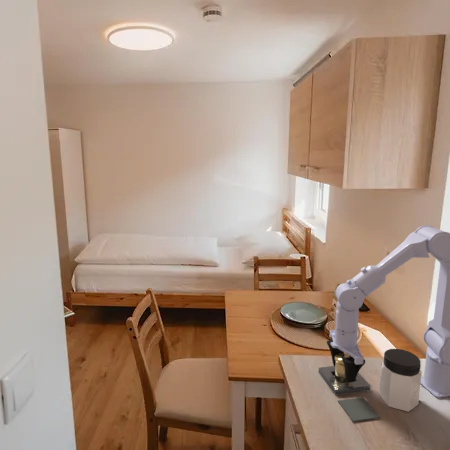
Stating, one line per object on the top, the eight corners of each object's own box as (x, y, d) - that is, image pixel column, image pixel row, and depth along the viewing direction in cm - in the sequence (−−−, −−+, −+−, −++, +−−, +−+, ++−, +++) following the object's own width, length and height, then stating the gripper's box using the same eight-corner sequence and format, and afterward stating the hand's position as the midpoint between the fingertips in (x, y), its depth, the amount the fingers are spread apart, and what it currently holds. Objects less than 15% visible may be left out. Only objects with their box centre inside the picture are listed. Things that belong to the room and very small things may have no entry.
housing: (350, 368, 100) (350, 363, 100) (370, 390, 91) (370, 385, 90) (318, 372, 99) (318, 367, 98) (335, 395, 89) (335, 390, 89)
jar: (404, 416, 81) (408, 371, 79) (373, 397, 88) (376, 355, 86) (423, 402, 86) (428, 359, 84) (392, 385, 93) (396, 344, 91)
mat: (363, 398, 88) (363, 397, 88) (379, 418, 81) (380, 416, 81) (338, 401, 86) (338, 400, 86) (352, 422, 80) (352, 420, 80)
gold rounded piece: (346, 374, 98) (348, 352, 96) (356, 386, 93) (358, 362, 91) (330, 376, 97) (331, 354, 95) (339, 388, 92) (340, 364, 90)
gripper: (320, 317, 98) (318, 360, 101) (346, 343, 84) (343, 392, 86) (343, 315, 99) (340, 357, 102) (372, 340, 85) (368, 388, 88)
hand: (343, 373), depth 94 cm, fingers open, 7 cm apart
